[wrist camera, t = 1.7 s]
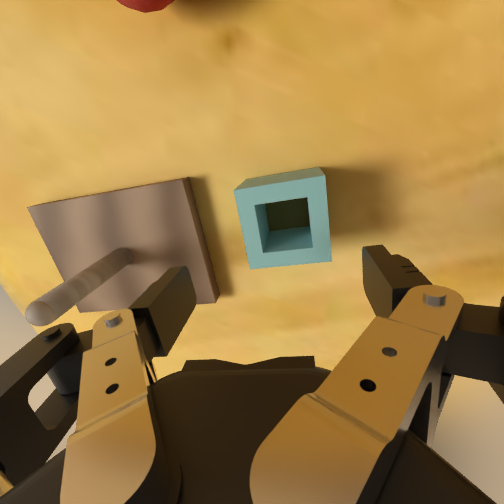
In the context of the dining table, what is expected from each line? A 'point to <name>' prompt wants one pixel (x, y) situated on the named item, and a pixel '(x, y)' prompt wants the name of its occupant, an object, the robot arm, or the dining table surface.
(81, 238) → the stand
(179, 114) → the dining table surface
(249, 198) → the bead
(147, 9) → the onion
